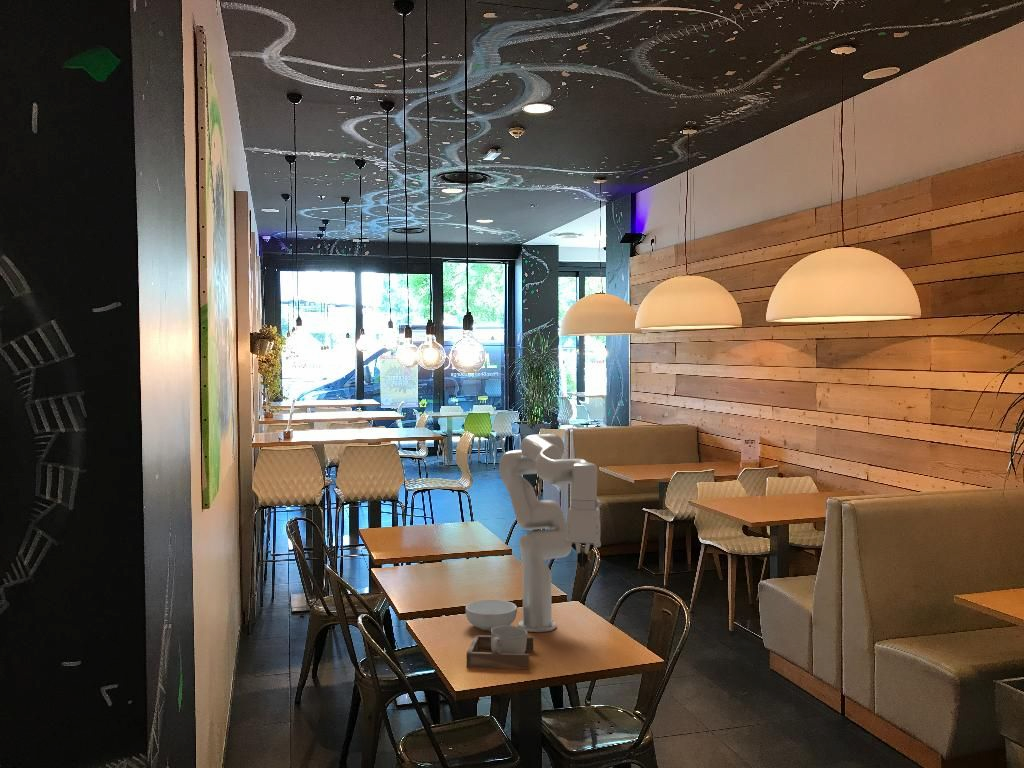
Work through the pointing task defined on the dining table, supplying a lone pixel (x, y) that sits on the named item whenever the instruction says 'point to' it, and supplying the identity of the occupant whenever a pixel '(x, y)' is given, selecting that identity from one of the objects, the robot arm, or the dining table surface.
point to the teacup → (508, 639)
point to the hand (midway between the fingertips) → (582, 565)
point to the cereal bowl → (491, 613)
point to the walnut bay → (496, 655)
